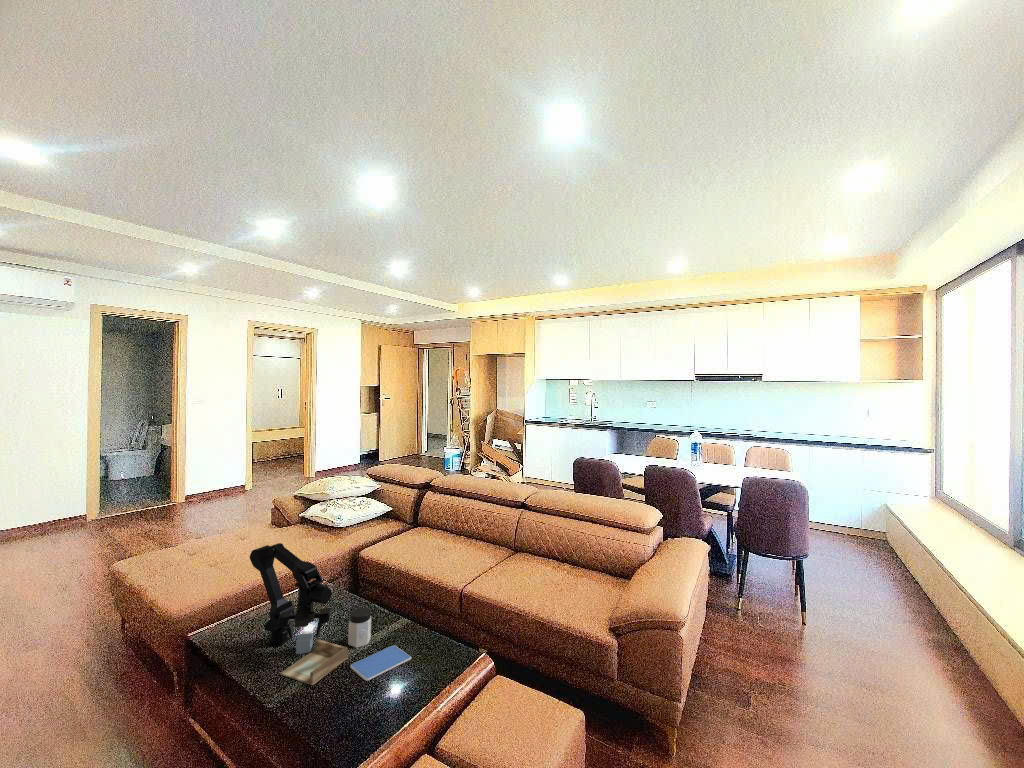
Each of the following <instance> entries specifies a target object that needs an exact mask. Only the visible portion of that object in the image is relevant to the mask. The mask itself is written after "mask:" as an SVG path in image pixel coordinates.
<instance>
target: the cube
mask: <svg viewBox="0 0 1024 768" xmlns="http://www.w3.org/2000/svg"><path fill="white" fill-rule="evenodd" d="M313 635H314V633H313V632H310V633H302V634H301V633H300V634H298V636H297V639H296V643H295V655H299V654H300V655H302V654H309V653H310V652H312V651H311V650H312V648H313V638H314V637H313Z"/></svg>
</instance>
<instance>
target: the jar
mask: <svg viewBox="0 0 1024 768" xmlns="http://www.w3.org/2000/svg"><path fill="white" fill-rule="evenodd" d="M371 612H372V611H371V609H370V608H368V607H358V608H357V607H356V608H354V609H352V610H351V611H350V613H349V620H348V635H347V637H348V638H347V644H348V645H347V646H351V647H354V648H360V647H364V646H366V645H367V646H368V644H369V642H370V640H371V638H372V637H371V636H372V635H371V633H372V615H371Z"/></svg>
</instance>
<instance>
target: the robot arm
mask: <svg viewBox="0 0 1024 768" xmlns="http://www.w3.org/2000/svg"><path fill="white" fill-rule="evenodd" d="M275 559H276V560H277V561H278V562H280V564H282V565H283V566H285V567H286V569H288V570H290V572H291V573H292V577H293V579H294V580H295V581H296V583H295V584H293V586H294V587H295V588H298V589H297V590H298V591H297V592H298V593H297V609H295V607H294V606H293V601H292V600H287V599H285V597H284V593H283V591H282V588H281V585H280V581H279V578H278V576H277V573H276V570H275V567H274V561H275ZM249 560H250V562H251V565H252V566H253V568H254V569H256V570H257V571H259V574H260V576H261V579H262V583H263V585H264V588H265V591H266V594H267V598H268V599H269V604H270V608H269V609H270V610H269V614H268V616H269V620H268V621H266V623H264V628H265V629H264V630H265V631H268V632H269V635H268V640H267V641H266V642H265V645H269V646H272V647H275V648H279V647H280V646H281V645H283V644H285V643H286V642H288V641H293V639H294V627H295V628H301V627H304V628H305V627H307V626H309V624H310V623H312V622H314V621H315V619H318V621H317V627H316V634H315V638H316V639H318V636H319V634H320V631H321V628H322V627H323V625H324V624H326V623H327V622H330V619H331V617H332V608H330V607H329V608H328V607H327V608H321V609H320V611H319V612H315V611H314V603H318V604H321V605H326V604H328V603H329V601H330V600H331V598H332V594H333V593H332V589H331V588H330V587H329V584H323V582H324V580H323V578H322V575H321V574H320V572H319V570H318V567H317V566H316V565H315V564H314V563H312V562H310V561H306V560H304V561H303V560H302V559H301V558H299V557H298V556H297V555H295V554H294V553H293V552H291V551H290V550H289V549H287V548H286V547H285V546H284V544H283V543H281V542H278V543H276V544H273V545H267V544H266V545H263V546H261V547H258V548H256V549H253V550H251V552H250V554H249ZM295 610H296V612H295Z"/></svg>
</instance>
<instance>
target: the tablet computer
mask: <svg viewBox="0 0 1024 768" xmlns="http://www.w3.org/2000/svg"><path fill="white" fill-rule="evenodd" d="M411 660H412V656H411V655H410V654H407V653H406V652H405V651H404V650H402V649H401V648H399V647H398V646H397V645H394V644H393V645H391V646H388V647H386V648H384V649H382V650H380V651H377V652H375V653H374V654H371V655H369V656H367V657H364V658H363V659H360V660H358V661H355V662H354V663H351V664H350V665H349V668H350V669H351V670H353V672H354V673H356V674H357V675H358V676H359V677H360V678H361V679H362V680H364V681H365V682H368V681H370V680H373V679H374V678H376V677H379V676H380V675H382V674H384V673H386V672H388V671H390V670H392V669H394V668H396V667H398V666H400V665H402V664H404V663H406V662H409V661H411Z"/></svg>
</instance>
